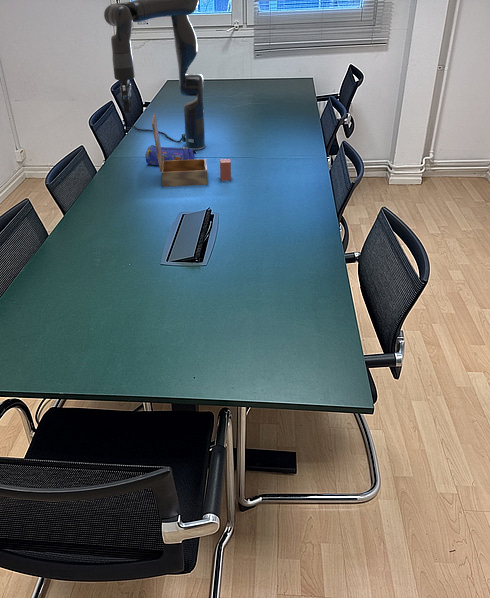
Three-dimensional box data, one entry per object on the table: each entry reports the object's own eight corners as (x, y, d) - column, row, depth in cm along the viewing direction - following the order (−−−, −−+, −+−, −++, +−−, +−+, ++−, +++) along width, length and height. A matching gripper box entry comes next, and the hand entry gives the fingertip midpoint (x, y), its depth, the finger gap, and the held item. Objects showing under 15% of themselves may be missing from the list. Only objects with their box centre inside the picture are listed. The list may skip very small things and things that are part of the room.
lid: (155, 113, 221) (153, 113, 221) (153, 123, 210) (151, 124, 210) (162, 159, 232) (161, 159, 232) (162, 171, 221) (160, 171, 221)
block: (230, 178, 232) (230, 158, 227) (230, 182, 229) (230, 162, 224) (220, 178, 232) (219, 159, 227) (220, 182, 229) (220, 162, 224)
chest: (206, 174, 237) (205, 158, 233) (207, 186, 226) (207, 170, 222) (163, 175, 237) (162, 160, 233) (162, 188, 225) (161, 172, 221)
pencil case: (197, 165, 245) (196, 144, 240) (190, 172, 239) (189, 151, 233) (152, 161, 251) (150, 140, 246) (144, 167, 245) (142, 146, 239)
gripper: (132, 68, 198) (136, 114, 207) (134, 60, 210) (138, 104, 219) (111, 69, 198) (116, 115, 207) (114, 61, 210) (119, 105, 219)
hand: (128, 109), depth 213 cm, fingers open, 8 cm apart
